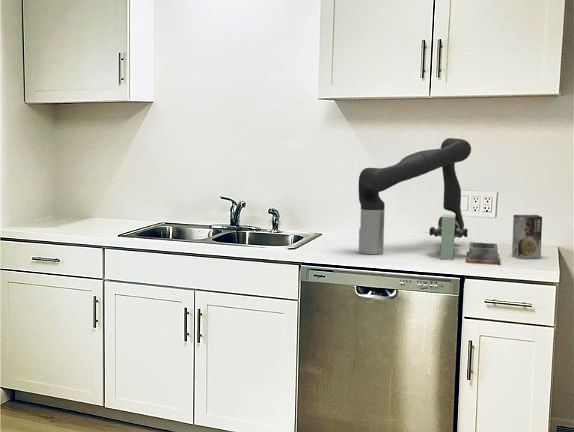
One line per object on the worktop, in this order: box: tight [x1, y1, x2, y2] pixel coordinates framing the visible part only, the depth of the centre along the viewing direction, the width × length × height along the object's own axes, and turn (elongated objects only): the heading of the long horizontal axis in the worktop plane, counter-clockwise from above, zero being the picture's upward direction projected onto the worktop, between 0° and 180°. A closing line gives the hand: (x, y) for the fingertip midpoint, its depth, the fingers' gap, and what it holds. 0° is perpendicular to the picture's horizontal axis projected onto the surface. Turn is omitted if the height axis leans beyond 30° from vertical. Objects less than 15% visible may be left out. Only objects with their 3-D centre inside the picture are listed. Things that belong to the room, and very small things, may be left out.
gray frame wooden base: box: [465, 241, 501, 266], centre depth 253 cm, size 12×18×5 cm, turn 164°
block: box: [440, 213, 456, 261], centre depth 256 cm, size 4×9×16 cm, turn 164°
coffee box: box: [511, 214, 543, 259], centre depth 259 cm, size 9×6×16 cm
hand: (447, 234), depth 255 cm, fingers open, 8 cm apart
